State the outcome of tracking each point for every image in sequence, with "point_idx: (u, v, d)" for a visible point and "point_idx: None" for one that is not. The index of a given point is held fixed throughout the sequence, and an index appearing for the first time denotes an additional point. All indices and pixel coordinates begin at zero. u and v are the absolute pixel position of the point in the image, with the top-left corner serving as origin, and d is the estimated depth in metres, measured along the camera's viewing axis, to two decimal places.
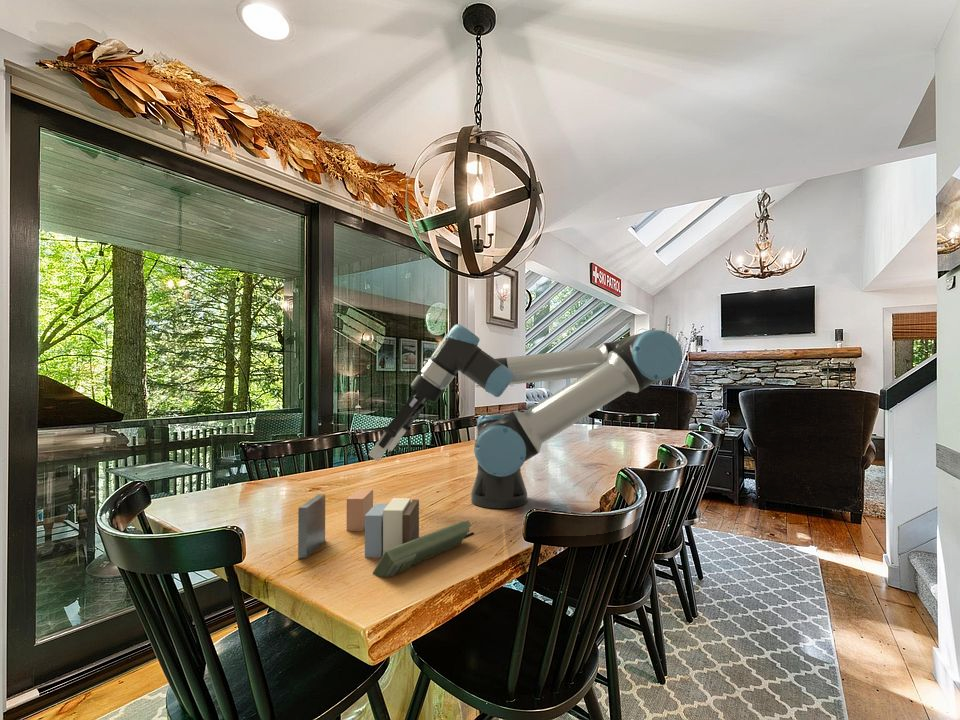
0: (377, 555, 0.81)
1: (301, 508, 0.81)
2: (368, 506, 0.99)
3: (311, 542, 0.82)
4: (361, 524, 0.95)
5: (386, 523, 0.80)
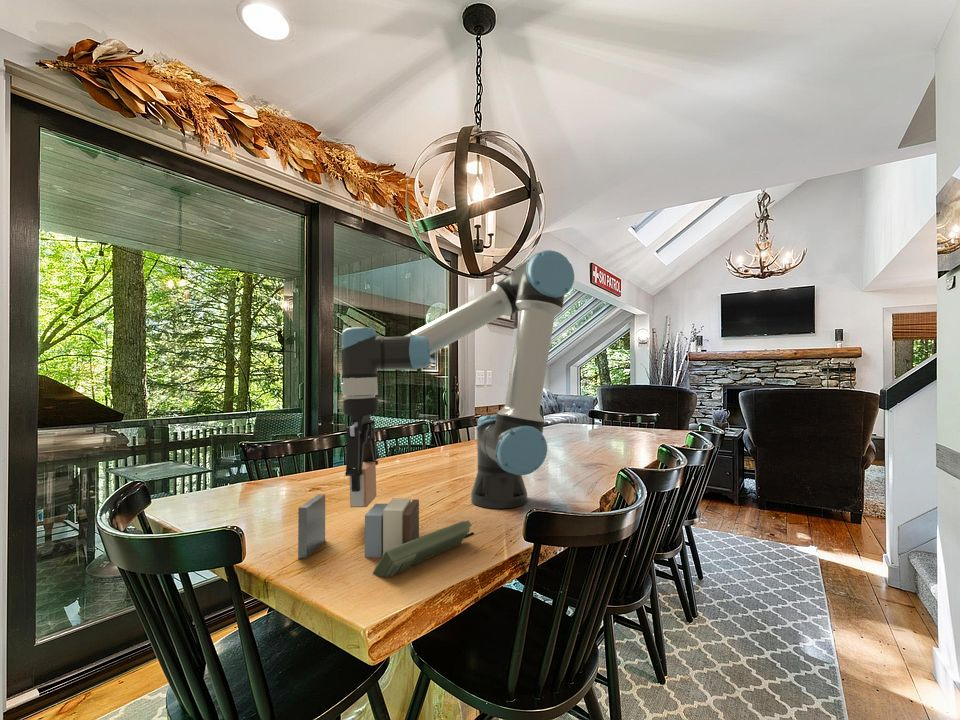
0: (377, 555, 0.81)
1: (301, 508, 0.81)
2: (371, 477, 0.99)
3: (311, 542, 0.82)
4: (364, 494, 0.95)
5: (386, 523, 0.80)
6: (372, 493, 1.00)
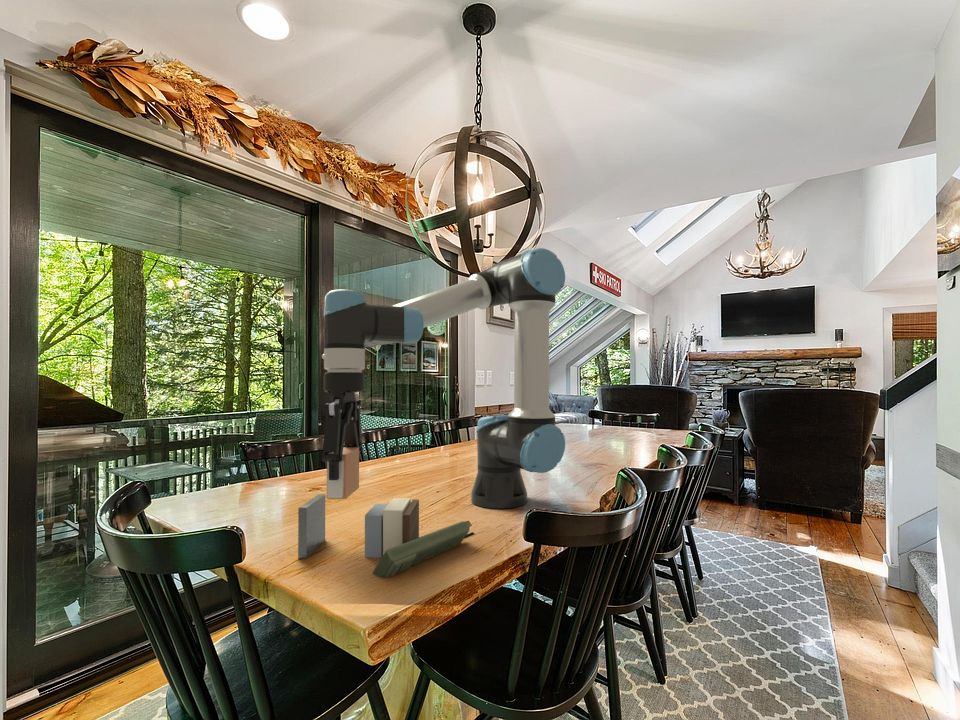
0: (377, 555, 0.81)
1: (301, 508, 0.81)
2: (353, 465, 0.85)
3: (311, 542, 0.82)
4: (344, 484, 0.81)
5: (386, 523, 0.80)
6: (353, 483, 0.86)
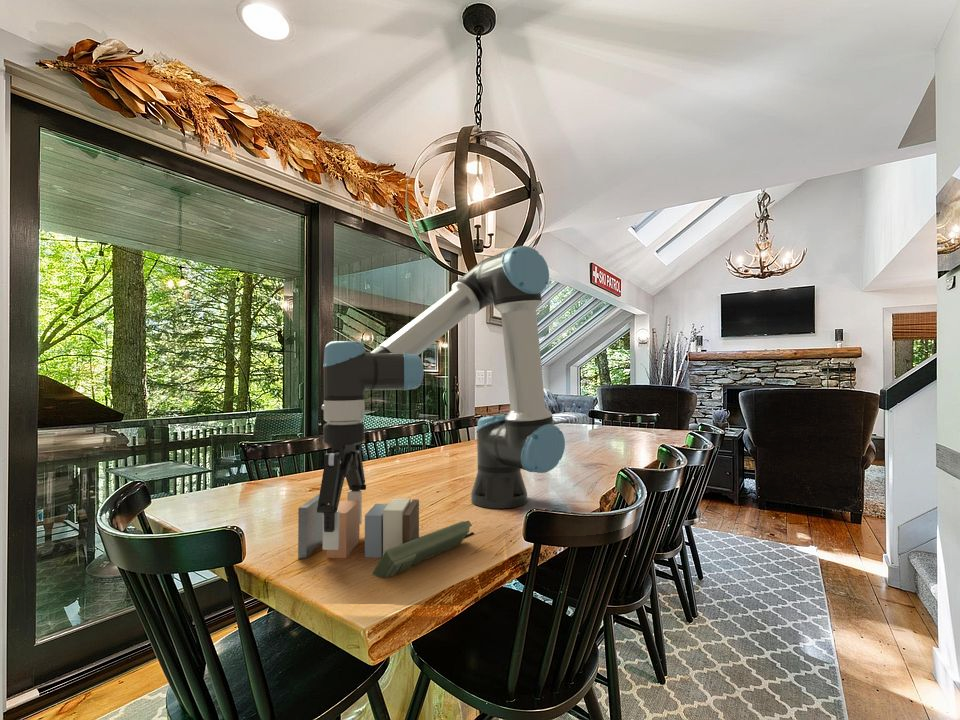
0: (377, 555, 0.81)
1: (301, 508, 0.81)
2: (353, 521, 0.85)
3: (311, 542, 0.82)
4: (344, 543, 0.81)
5: (386, 523, 0.80)
6: (354, 539, 0.85)
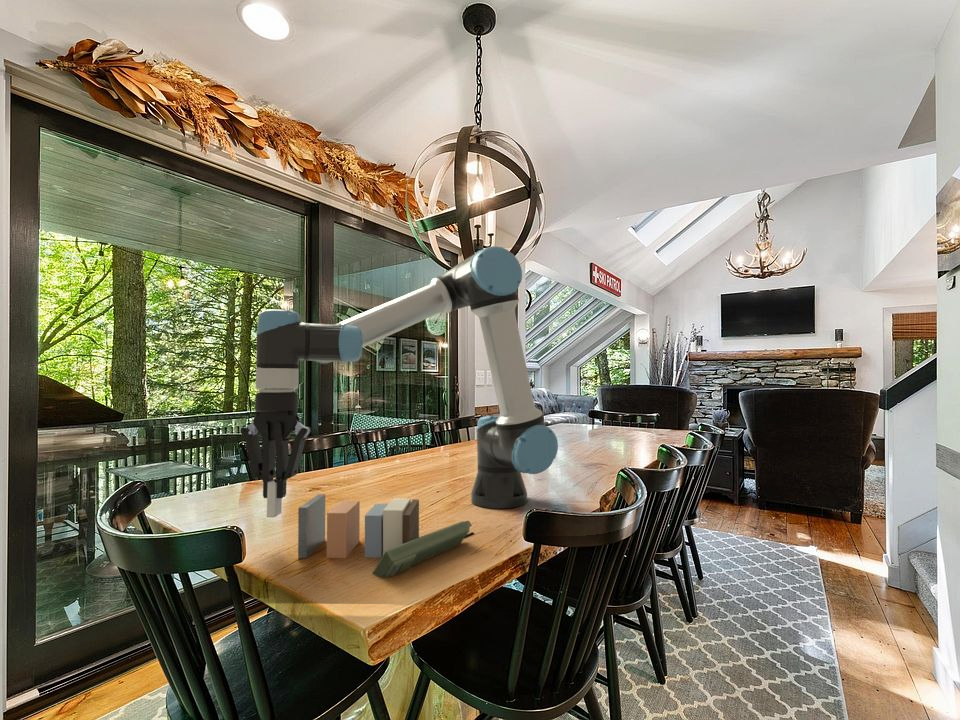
0: (377, 555, 0.81)
1: (301, 508, 0.81)
2: (353, 521, 0.85)
3: (311, 542, 0.82)
4: (344, 543, 0.81)
5: (386, 523, 0.80)
6: (354, 539, 0.85)
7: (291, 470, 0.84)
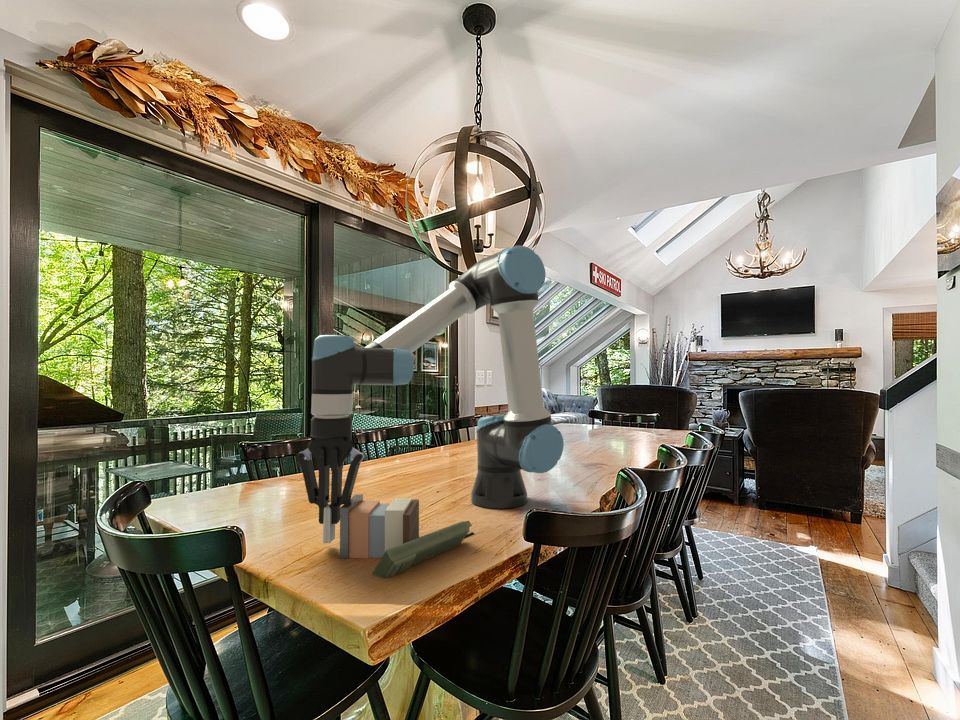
0: (381, 555, 0.81)
1: (343, 508, 0.80)
2: None
3: None
4: (366, 543, 0.80)
5: (388, 523, 0.80)
6: None
7: (346, 496, 0.84)
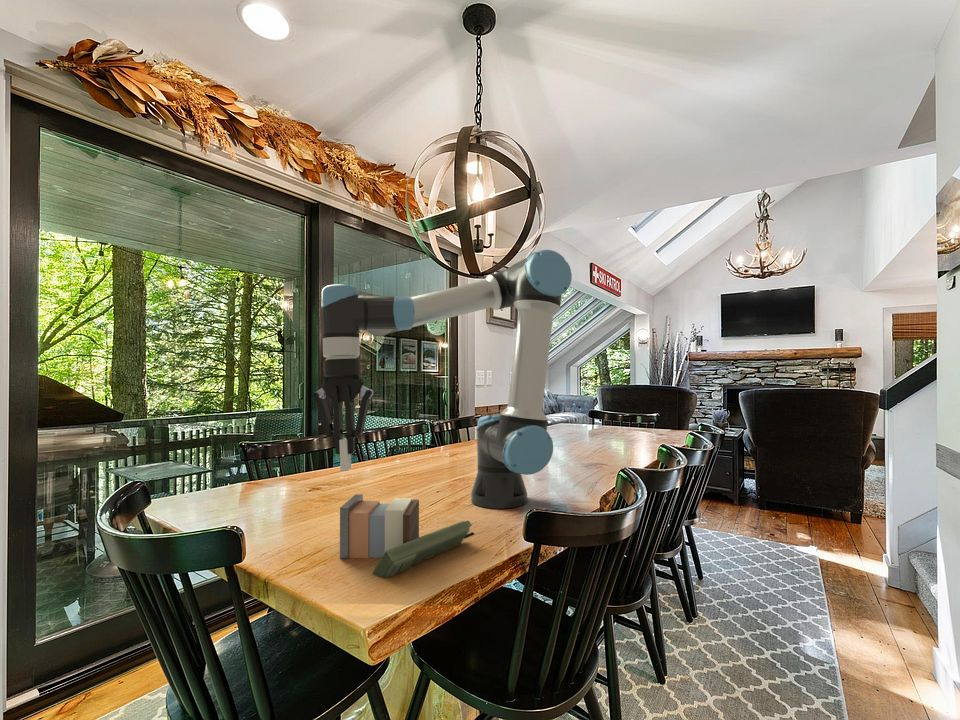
0: (381, 555, 0.81)
1: (342, 508, 0.80)
2: None
3: None
4: (366, 543, 0.80)
5: (388, 523, 0.80)
6: None
7: (360, 428, 0.94)
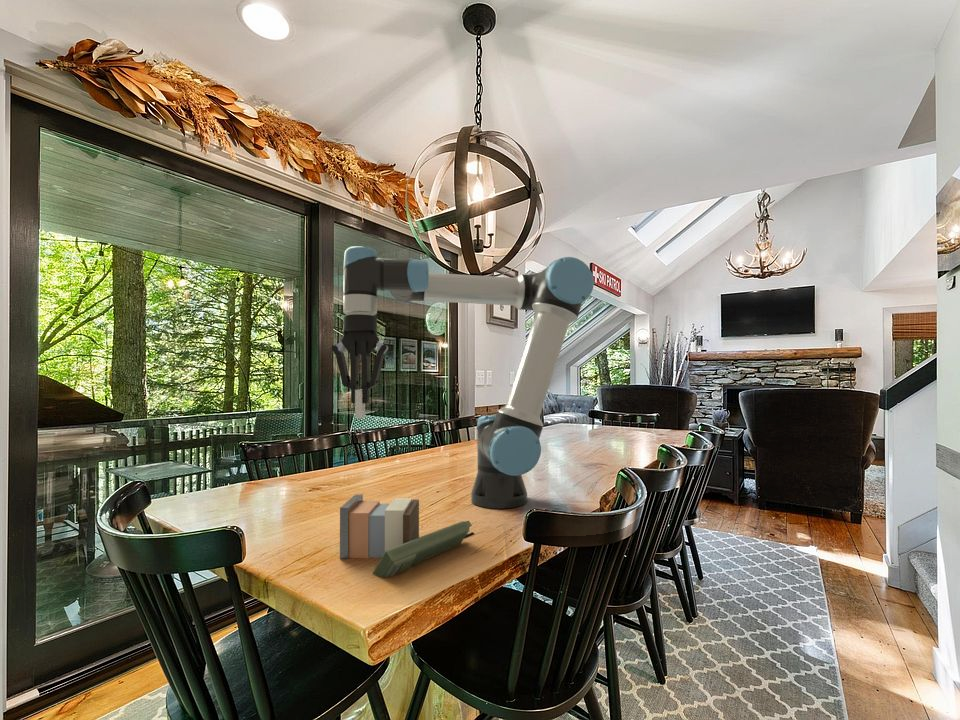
0: (381, 555, 0.81)
1: (342, 508, 0.80)
2: None
3: None
4: (366, 543, 0.80)
5: (388, 523, 0.80)
6: None
7: (374, 379, 1.01)
